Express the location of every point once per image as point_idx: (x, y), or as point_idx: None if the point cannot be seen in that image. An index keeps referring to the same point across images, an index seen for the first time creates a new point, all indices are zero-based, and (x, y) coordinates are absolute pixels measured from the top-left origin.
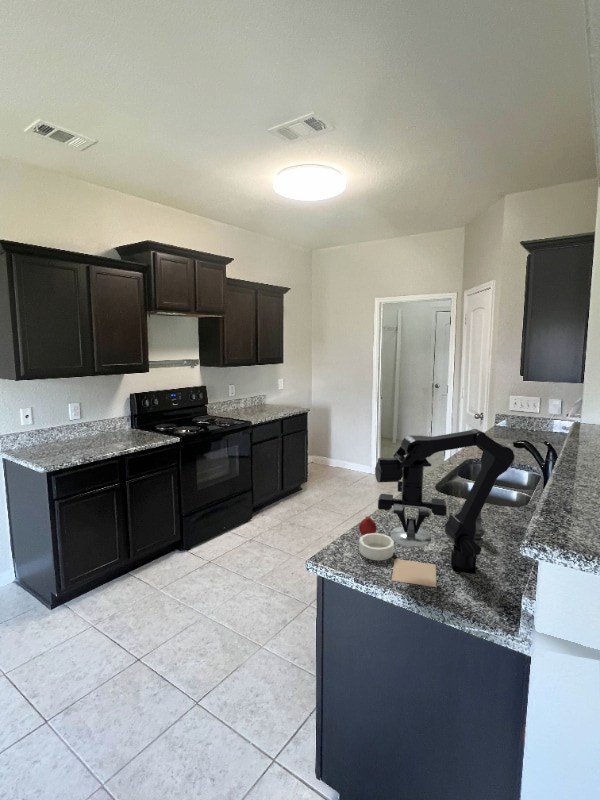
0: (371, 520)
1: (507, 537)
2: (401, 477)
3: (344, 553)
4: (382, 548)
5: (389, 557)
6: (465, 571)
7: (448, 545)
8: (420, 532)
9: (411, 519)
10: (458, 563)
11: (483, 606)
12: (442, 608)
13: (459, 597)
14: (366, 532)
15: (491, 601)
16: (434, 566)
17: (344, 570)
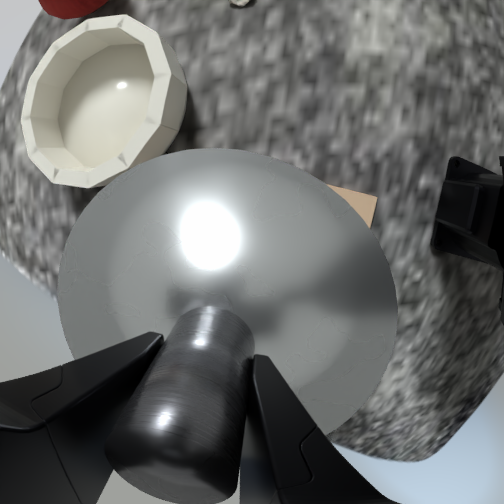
0: None
1: None
2: None
3: (16, 144)
4: (102, 173)
5: (161, 153)
6: (469, 254)
7: (451, 31)
8: (319, 285)
9: (171, 483)
10: (465, 244)
11: (424, 412)
12: None
13: (383, 391)
14: (65, 17)
15: (455, 389)
16: (367, 215)
17: (25, 260)
